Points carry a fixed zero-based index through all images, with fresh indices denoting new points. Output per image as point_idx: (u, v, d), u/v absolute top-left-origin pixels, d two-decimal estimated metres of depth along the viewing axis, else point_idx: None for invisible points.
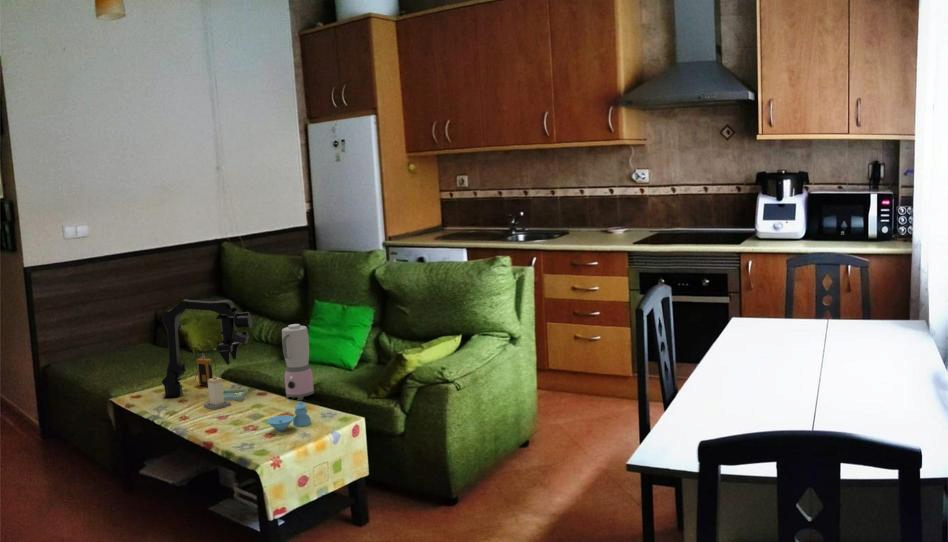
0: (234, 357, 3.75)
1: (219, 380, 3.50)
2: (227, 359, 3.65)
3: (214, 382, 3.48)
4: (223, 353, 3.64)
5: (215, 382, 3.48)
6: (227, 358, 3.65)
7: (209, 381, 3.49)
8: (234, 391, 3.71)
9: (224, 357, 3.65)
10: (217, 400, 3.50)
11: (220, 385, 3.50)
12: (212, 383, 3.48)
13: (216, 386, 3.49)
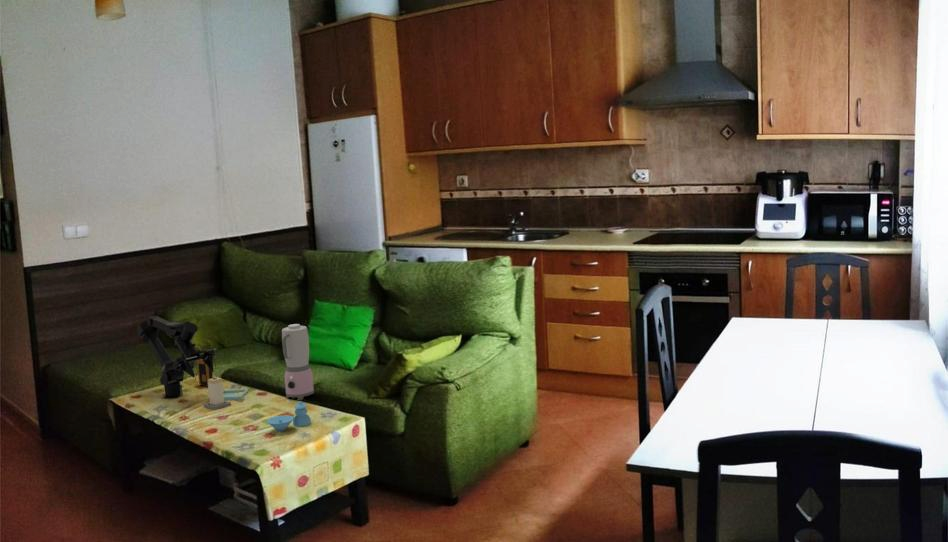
0: None
1: (219, 380, 3.50)
2: None
3: (214, 382, 3.48)
4: None
5: (215, 382, 3.48)
6: None
7: (209, 381, 3.49)
8: (234, 391, 3.71)
9: None
10: (217, 400, 3.50)
11: (220, 385, 3.50)
12: (212, 383, 3.48)
13: (216, 386, 3.49)
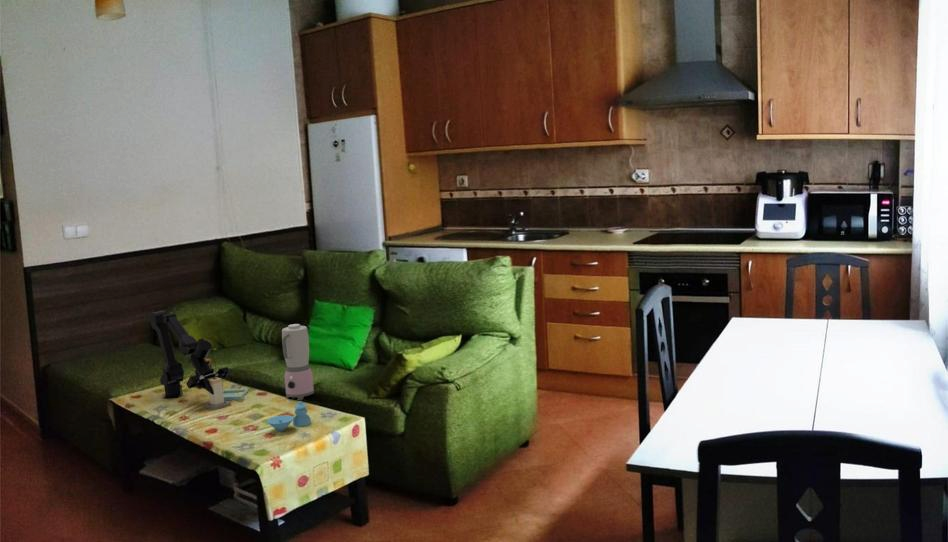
0: None
1: (219, 380, 3.50)
2: None
3: (214, 382, 3.48)
4: None
5: (215, 382, 3.48)
6: None
7: (209, 381, 3.49)
8: (234, 391, 3.71)
9: None
10: (217, 400, 3.50)
11: (220, 385, 3.50)
12: (212, 383, 3.48)
13: (216, 386, 3.49)
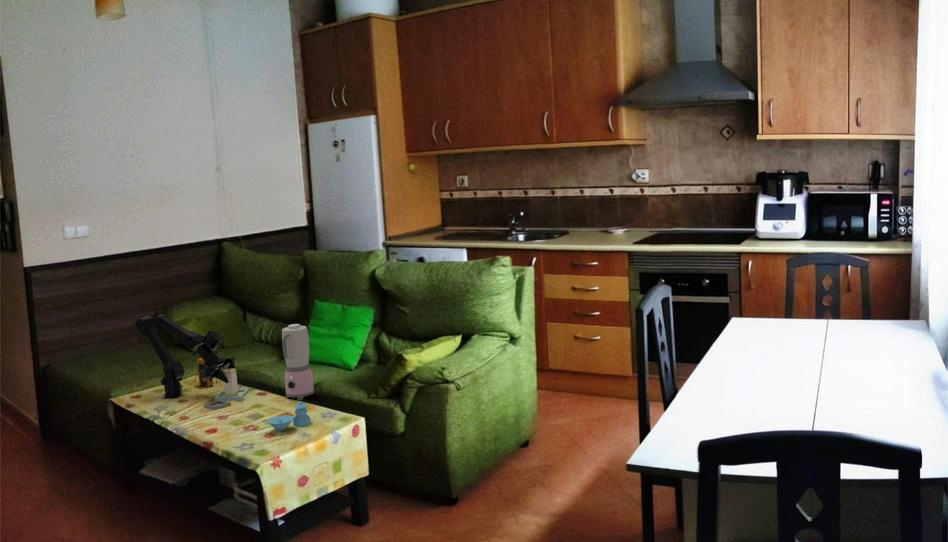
0: None
1: (234, 370, 3.65)
2: None
3: (231, 372, 3.62)
4: None
5: (232, 372, 3.63)
6: None
7: (225, 372, 3.62)
8: None
9: None
10: (234, 390, 3.64)
11: (235, 375, 3.65)
12: (229, 373, 3.62)
13: (233, 376, 3.63)
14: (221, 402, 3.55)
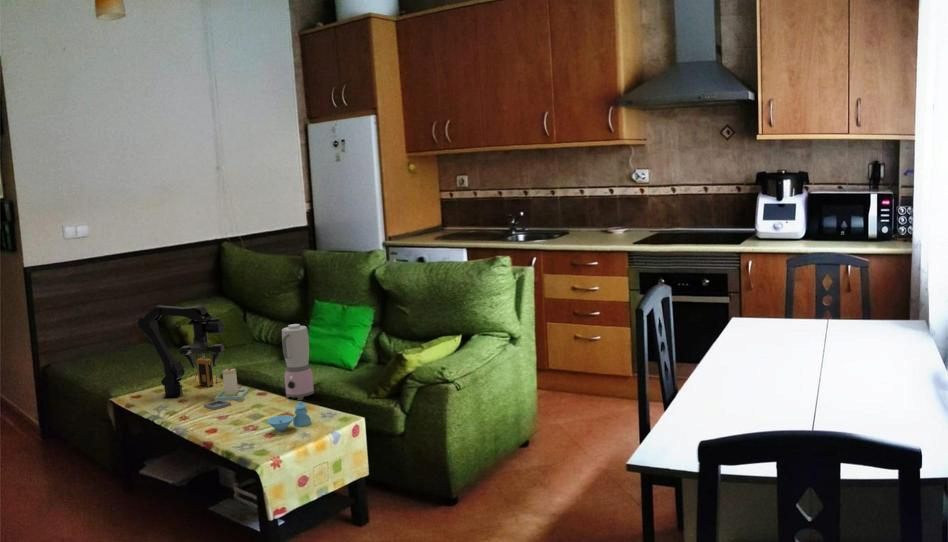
0: None
1: (234, 370, 3.65)
2: None
3: (231, 372, 3.62)
4: None
5: (232, 372, 3.63)
6: None
7: (225, 372, 3.62)
8: None
9: None
10: (234, 390, 3.64)
11: (235, 375, 3.65)
12: (229, 374, 3.62)
13: (233, 376, 3.63)
14: (221, 402, 3.55)
